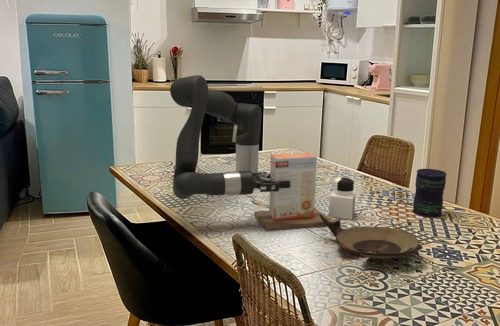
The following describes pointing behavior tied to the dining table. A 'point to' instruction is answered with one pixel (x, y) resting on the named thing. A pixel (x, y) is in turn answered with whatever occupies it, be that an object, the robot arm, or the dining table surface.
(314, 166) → the cracker box
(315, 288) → the dining table surface
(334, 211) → the container
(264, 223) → the walnut board
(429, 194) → the storage jar
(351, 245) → the oil lamp
